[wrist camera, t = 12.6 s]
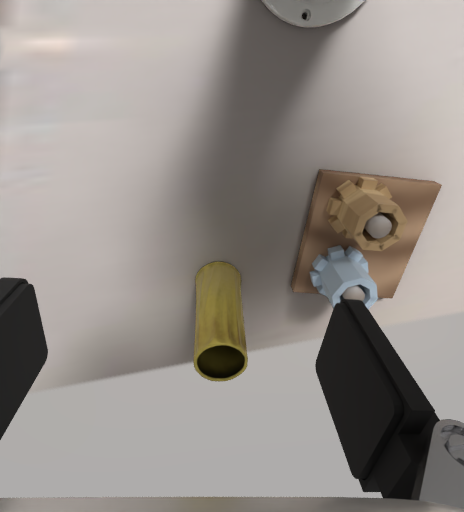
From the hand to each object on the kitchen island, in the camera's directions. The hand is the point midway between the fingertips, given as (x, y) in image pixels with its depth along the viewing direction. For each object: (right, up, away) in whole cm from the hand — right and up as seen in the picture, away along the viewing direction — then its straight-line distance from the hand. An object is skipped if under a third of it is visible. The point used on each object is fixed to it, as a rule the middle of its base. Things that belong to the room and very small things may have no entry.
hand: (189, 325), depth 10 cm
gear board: (+17, +5, +31) cm, 36 cm away
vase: (-1, -1, +33) cm, 33 cm away
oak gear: (+16, +8, +27) cm, 33 cm away
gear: (+15, 0, +32) cm, 35 cm away
